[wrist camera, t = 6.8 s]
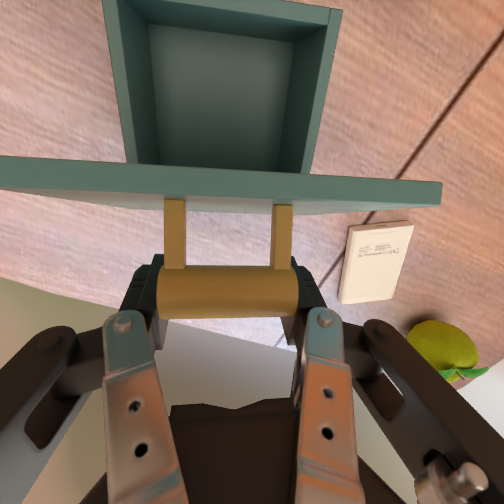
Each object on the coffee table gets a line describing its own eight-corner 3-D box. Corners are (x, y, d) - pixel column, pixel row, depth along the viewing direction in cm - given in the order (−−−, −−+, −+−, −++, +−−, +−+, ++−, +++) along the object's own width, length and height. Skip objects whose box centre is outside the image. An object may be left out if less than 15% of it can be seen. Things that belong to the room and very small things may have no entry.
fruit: (412, 306, 44) (458, 359, 35) (456, 312, 46) (509, 363, 38) (384, 343, 48) (420, 397, 40) (425, 346, 50) (467, 399, 42)
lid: (-35, 152, 7) (-18, 349, 7) (444, 181, 9) (427, 334, 9) (131, 198, 20) (132, 266, 20) (304, 205, 22) (301, 267, 22)
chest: (138, 10, 21) (96, -30, 14) (302, 33, 23) (343, 9, 16) (154, 170, 28) (132, 201, 20) (281, 177, 30) (302, 208, 22)
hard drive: (336, 297, 41) (348, 226, 34) (387, 291, 41) (408, 220, 35) (340, 305, 39) (354, 231, 33) (393, 298, 40) (416, 225, 33)
